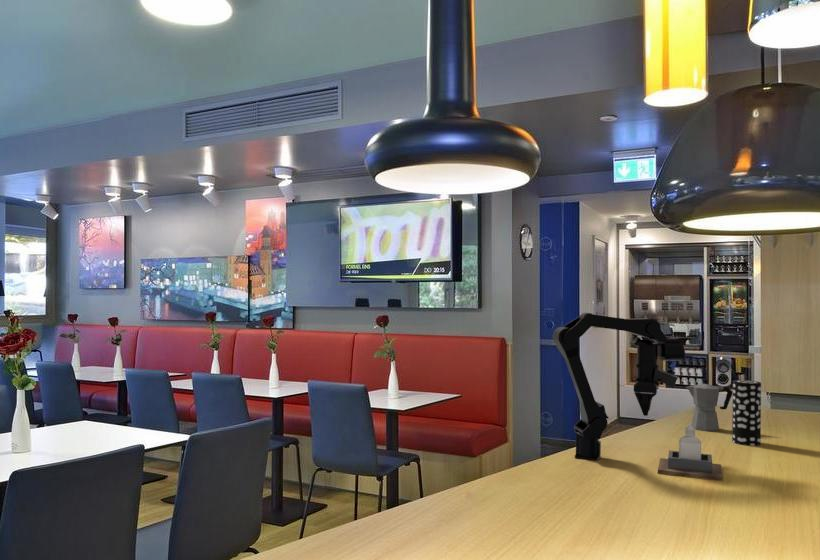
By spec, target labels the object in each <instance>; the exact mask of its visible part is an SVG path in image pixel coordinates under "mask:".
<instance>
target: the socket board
mask: <svg viewBox="0 0 820 560" xmlns="http://www.w3.org/2000/svg"><path fill="white" fill-rule="evenodd" d="M722 468H723V467H722V464H721V463H720V464H719V463H712V473H704V472H694V471H685V470H676V469H668V458H662V457H660V458H659V461H658V467H657V474H660V475H661V474H662V475H670V476H677V477H686V478H694V479H695V478H696V479H704V480H713V481H721V482H722V481H723V482H724V475H723V474H724V473H723V469H722Z"/></svg>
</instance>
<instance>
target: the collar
mask: <svg viewBox="0 0 820 560" xmlns="http://www.w3.org/2000/svg"><path fill="white" fill-rule="evenodd" d="M667 459H668V469H676V470H685V471H694V472H704V473H712V464H713V456H712V454H709V453H701V460H695V459H685V458H679V450H668V455H667Z"/></svg>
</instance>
